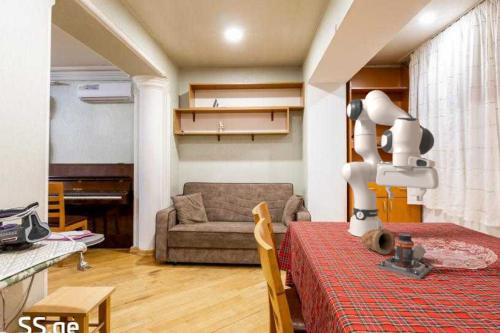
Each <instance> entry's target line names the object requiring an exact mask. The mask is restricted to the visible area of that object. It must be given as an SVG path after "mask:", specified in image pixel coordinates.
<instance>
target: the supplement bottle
mask: <svg viewBox="0 0 500 333" xmlns="http://www.w3.org/2000/svg"><path fill="white" fill-rule="evenodd" d="M414 247H415V243H414V241H413V240H412V235H411V234H409V233H404V232H403V233H398V238H397V239H395V255H394V256H395V263H396V264H397V265H398V266H402V267H406V268H411V267H413V266H414Z"/></svg>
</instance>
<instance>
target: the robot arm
mask: <svg viewBox="0 0 500 333" xmlns="http://www.w3.org/2000/svg"><path fill="white" fill-rule="evenodd" d="M346 114H347V118H348V119H349V120H351V121H355V124H354V131H353V132H354V136H353V137H354V140H353V144H354V151H355V153H356V154H357V155H359V156H361V157H362V159H363V161H351V162H346V163H345V164H344V165H343V166H342V168H341V175H342V178H343V179H344V181H346V182H347V183H348V184H349V186H350V187H351V189H352V192H353V193H352V194H353V201H354V203H353V209H352V216H351V217H350V224H349V228H348V229H347V232H348V233H349V234H350V235H353V236H356V237H358V238H359V237H360V238H361V237H362V235H363V234H365V232H367V231H370V230H376V229H384V226H383V225H384V224H383V221H382V220H381V219H380V218H379V214H378V213H380V209H379V208H377V198H378V197H377V194H376V193H375V191H373V190H372V189H370V188H369V186H368V183H376V185H378V186H385V190H386V192H387V194H388V199H395V193H393V192H392V190H391V189H392V187H396V188H398V187H399V188H411V189H413V188H414V189H419V190H420V191H419V192H421V193H420V194H419V195H416V201H417V202H423V198H424V196H425V194H426V192H427V190H428V189H429V190H430V189H431V190H436V189H437V188H439V182H440V181H439V174H438V173H439V172H438V170H437V169H436V168H435V166H436V162H435V160H431V159H428V158H425V157H421V156H424V155H426V154H427V153H428V152H430V151H431V150H432V149H433V147H434V146H435V137H434V135H433V133H432V132H431V130H430V129H428V128H425V127H424V126H422V125H421V124H420V121H419V119H418V118H417V117H416V118H415V117H413V116H412V115H411V114H410V113H409V112H408V111H406V110H404V109H402V108H400V107H398V105H396V104H395V103H394V102H393V101H392V100H391V99H390V97H389V96H388V94H386V93H385V92H384V91H382V90H378V89H375V90H372V91H369V92H368V94H367V95H366V96H365V98H364V99H363V98H362V99H360V98H359V99H353V100H351V101H350V102H349V103H348V105H347V107H346ZM376 125H382V126H390V129H386V130H385V131H384V132H383V133H382V134H381V135H380V148H381V149H382V150H383V151H384V152H385V153H389V154H392V161H390V160H389V161H385V160H384V161H383V159H382V158H381V156H380V154H379V151H378V145H377V127H376Z"/></svg>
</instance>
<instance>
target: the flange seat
mask: <svg viewBox="0 0 500 333" xmlns="http://www.w3.org/2000/svg"><path fill="white" fill-rule="evenodd" d="M425 253H426V254H427V251H426V249H425V248H424V247H423V246H421V245H414V266H413V267H411V268H406V267H402V266H398V265H397V264H396V263H395V256H396V255H392V256H390V257H388V258H387V259H385V260H384V261H382V262H380V263H378V264H377V266H376V268H378V269H382V270H384V271H388V272H392V273H396V274H400V275H403V276H408V277H411V278H415V279H417V280H421V279H422V278H423V277H425V275H427V274H428V273H429V272H430V271H431V270H432V269H433V266H432V265H430V264H429V263H426V262H424V264H423V263H422V262H421V260H422V259H424V258H423V256H424V254H425Z"/></svg>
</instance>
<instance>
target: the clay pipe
mask: <svg viewBox="0 0 500 333" xmlns="http://www.w3.org/2000/svg"><path fill="white" fill-rule="evenodd" d="M360 241H361V242H362V244H364V245H365V247H366V248H367V249H370V250H371V251H373V252H377V253H378V254H380V255H389V254H391V252H393V250H394V248H395V247H396V237H395V235H394V234H393V233H392V232H391V231H390V229H388V228H387V229H386V228H383V229H376V230H370V231H367V232H365V234H363V235H362V237H360Z"/></svg>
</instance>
